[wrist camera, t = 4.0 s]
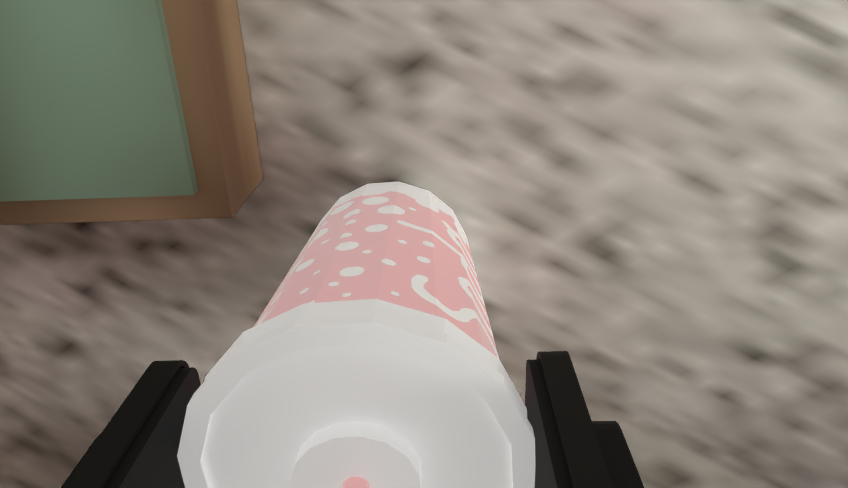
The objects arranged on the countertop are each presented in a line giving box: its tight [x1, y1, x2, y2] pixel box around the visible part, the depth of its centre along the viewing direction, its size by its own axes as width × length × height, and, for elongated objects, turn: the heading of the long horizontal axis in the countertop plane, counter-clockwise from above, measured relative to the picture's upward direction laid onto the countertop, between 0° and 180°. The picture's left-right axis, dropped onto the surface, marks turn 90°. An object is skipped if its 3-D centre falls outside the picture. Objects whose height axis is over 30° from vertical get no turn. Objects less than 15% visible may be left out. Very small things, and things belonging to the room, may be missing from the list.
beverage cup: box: [177, 181, 535, 488], centre depth 13 cm, size 6×6×14 cm
